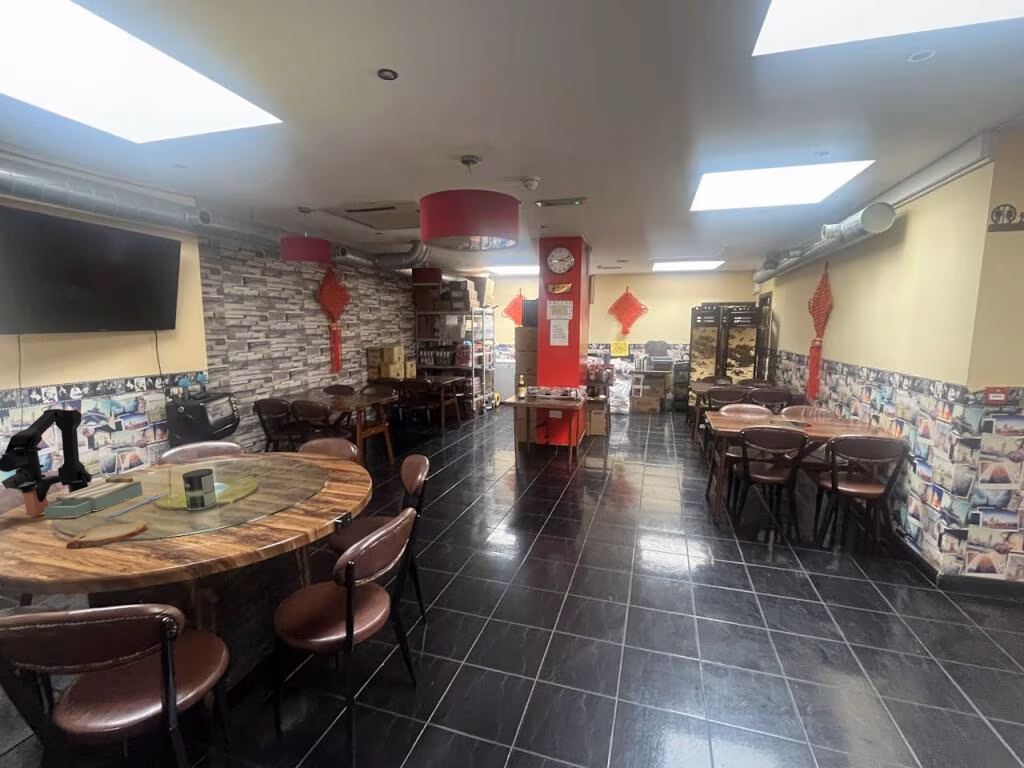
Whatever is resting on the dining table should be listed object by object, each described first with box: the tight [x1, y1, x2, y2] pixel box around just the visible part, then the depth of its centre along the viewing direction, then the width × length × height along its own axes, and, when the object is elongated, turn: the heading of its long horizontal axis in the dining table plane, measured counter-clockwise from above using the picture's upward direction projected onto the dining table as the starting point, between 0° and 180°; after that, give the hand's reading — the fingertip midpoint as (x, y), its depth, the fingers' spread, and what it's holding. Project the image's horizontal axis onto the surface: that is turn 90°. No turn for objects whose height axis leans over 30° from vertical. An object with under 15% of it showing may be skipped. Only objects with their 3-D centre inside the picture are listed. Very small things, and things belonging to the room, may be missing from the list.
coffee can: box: [181, 468, 218, 511], centre depth 181 cm, size 10×10×14 cm
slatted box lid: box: [56, 477, 142, 501], centre depth 191 cm, size 18×20×3 cm
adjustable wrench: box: [105, 493, 168, 520], centre depth 184 cm, size 25×6×2 cm, turn 170°
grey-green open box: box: [43, 482, 143, 519], centre depth 189 cm, size 18×26×5 cm
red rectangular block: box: [22, 490, 49, 516], centre depth 179 cm, size 4×4×9 cm
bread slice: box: [65, 522, 149, 549], centre depth 156 cm, size 18×18×4 cm
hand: (36, 501), depth 179 cm, fingers closed on red rectangular block, 4 cm apart
